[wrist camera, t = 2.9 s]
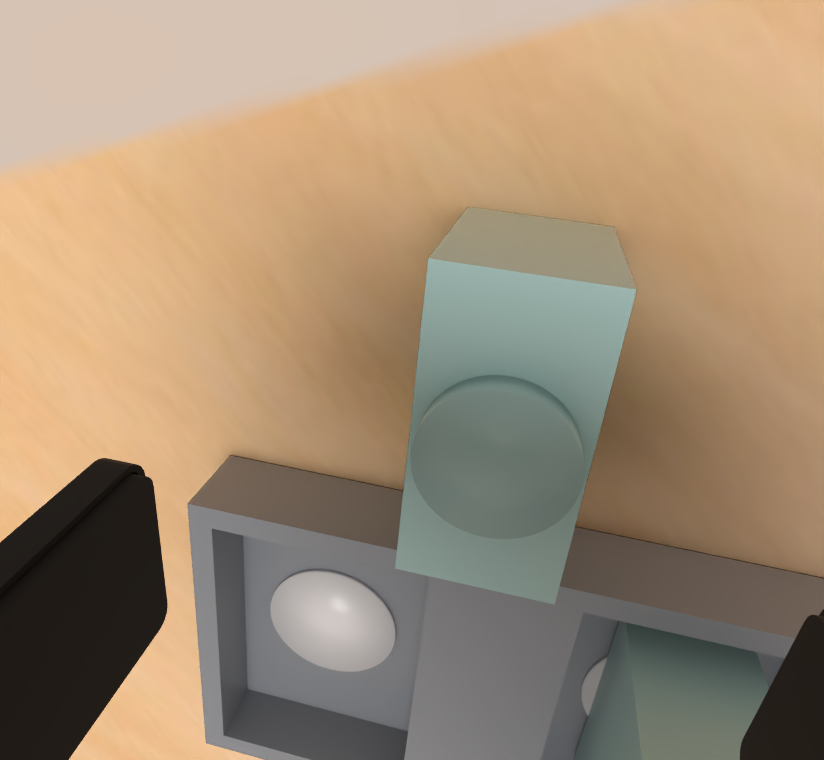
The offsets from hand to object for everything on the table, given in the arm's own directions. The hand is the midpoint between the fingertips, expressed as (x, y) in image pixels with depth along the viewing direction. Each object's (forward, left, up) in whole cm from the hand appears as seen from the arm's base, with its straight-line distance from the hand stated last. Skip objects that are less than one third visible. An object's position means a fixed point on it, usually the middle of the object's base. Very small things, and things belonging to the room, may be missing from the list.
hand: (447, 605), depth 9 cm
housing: (-1, +12, -11) cm, 17 cm away
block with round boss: (0, 0, -11) cm, 11 cm away
